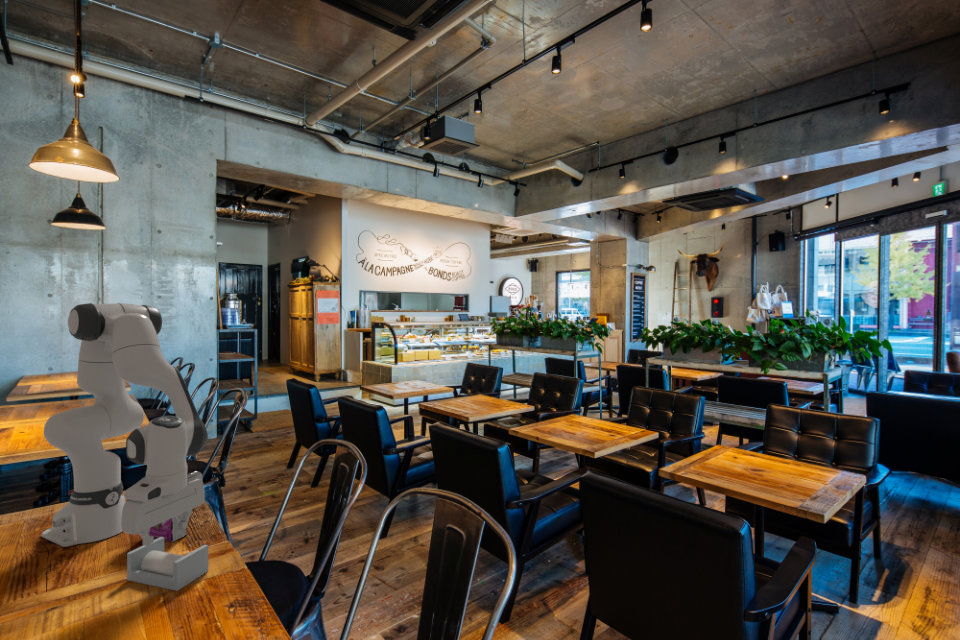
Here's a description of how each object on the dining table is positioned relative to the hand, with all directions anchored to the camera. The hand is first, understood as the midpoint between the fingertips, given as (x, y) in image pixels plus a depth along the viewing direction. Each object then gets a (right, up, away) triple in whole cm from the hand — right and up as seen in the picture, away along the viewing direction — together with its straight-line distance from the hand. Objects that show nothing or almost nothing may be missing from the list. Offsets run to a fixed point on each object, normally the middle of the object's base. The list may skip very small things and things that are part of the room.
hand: (165, 535), depth 120 cm
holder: (+1, -10, 0) cm, 10 cm away
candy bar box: (-14, -10, +21) cm, 27 cm away
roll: (+1, -9, 0) cm, 9 cm away
